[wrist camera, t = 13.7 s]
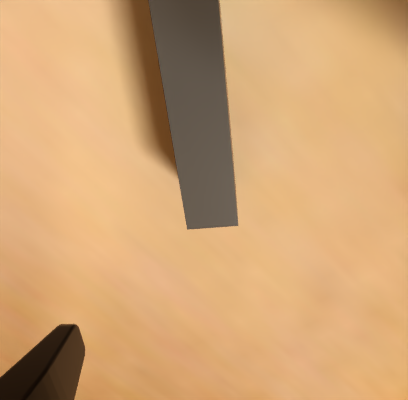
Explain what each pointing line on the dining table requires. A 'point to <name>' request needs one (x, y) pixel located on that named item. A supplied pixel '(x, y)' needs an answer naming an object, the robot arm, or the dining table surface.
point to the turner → (197, 107)
